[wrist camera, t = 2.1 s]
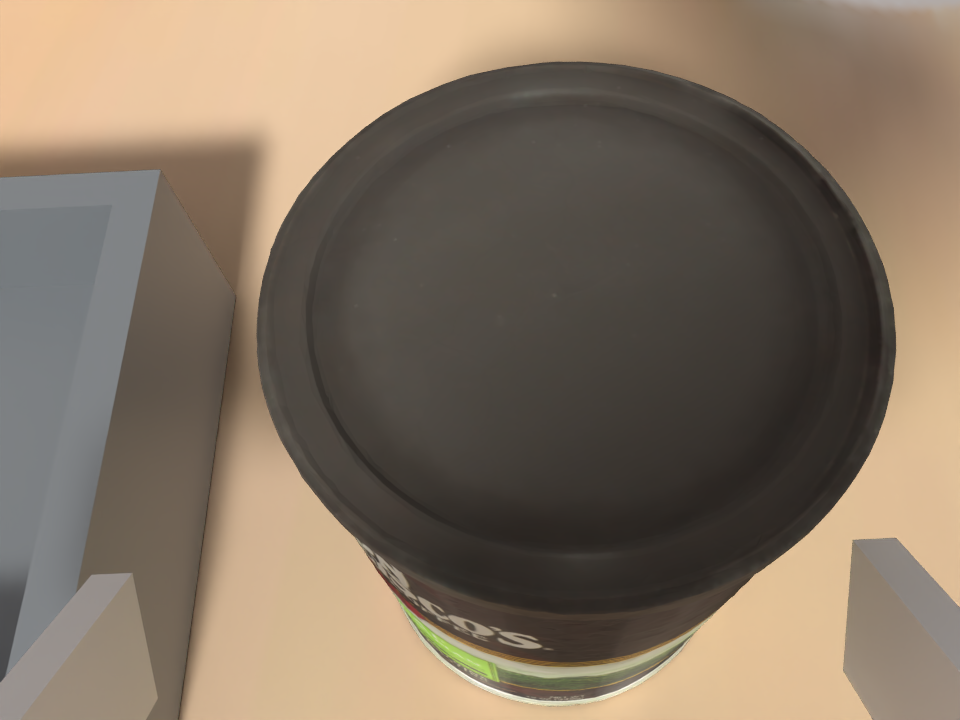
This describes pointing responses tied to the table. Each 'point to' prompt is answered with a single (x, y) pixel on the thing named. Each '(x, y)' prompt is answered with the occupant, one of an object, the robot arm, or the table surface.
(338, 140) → the table surface
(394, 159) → the coffee can
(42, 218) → the bin
